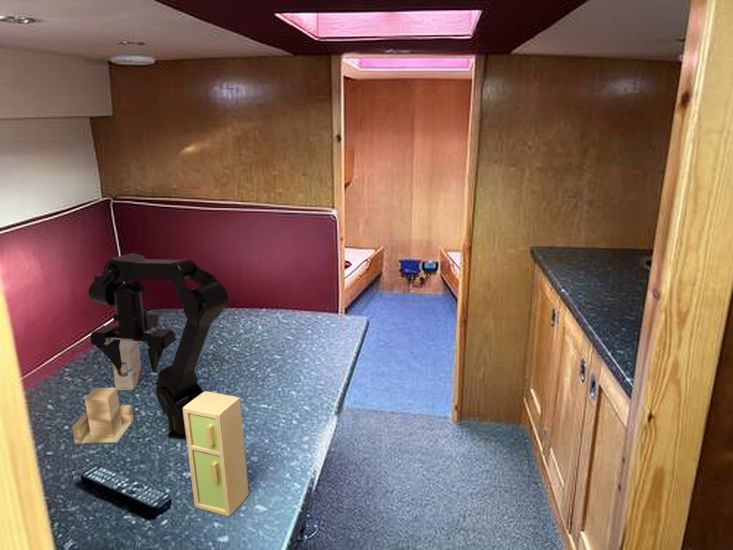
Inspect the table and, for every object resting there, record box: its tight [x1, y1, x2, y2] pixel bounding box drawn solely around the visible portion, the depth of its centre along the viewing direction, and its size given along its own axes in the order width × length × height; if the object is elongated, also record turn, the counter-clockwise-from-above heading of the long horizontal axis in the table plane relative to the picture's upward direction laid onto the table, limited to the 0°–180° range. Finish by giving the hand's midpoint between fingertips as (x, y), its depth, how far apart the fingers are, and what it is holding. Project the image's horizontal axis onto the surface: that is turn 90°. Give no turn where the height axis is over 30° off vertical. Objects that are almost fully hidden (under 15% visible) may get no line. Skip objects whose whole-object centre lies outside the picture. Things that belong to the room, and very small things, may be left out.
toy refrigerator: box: [183, 390, 250, 517], centre depth 102 cm, size 8×7×21 cm
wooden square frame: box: [71, 404, 134, 444], centre depth 128 cm, size 10×10×4 cm
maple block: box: [84, 387, 122, 438], centre depth 127 cm, size 5×5×10 cm
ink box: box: [111, 340, 143, 391], centre depth 150 cm, size 9×5×12 cm, turn 6°
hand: (137, 370), depth 132 cm, fingers open, 9 cm apart
